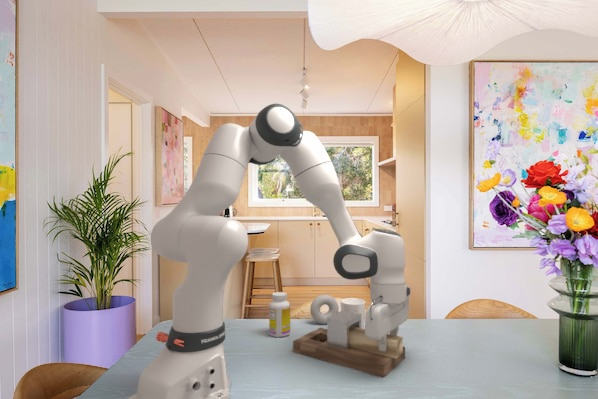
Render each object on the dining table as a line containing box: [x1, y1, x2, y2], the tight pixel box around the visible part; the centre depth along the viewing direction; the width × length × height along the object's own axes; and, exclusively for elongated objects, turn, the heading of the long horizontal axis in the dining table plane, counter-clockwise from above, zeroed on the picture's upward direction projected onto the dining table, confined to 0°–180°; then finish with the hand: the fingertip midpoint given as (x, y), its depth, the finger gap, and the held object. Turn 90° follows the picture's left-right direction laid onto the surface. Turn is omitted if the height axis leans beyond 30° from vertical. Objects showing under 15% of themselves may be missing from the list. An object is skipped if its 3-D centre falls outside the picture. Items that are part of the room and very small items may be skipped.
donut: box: [309, 294, 339, 325], centre depth 132 cm, size 10×4×10 cm, turn 102°
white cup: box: [340, 297, 366, 329], centre depth 123 cm, size 8×8×10 cm
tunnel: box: [326, 310, 361, 350], centre depth 106 cm, size 8×6×8 cm
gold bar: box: [349, 327, 404, 358], centre depth 101 cm, size 4×14×4 cm, turn 54°
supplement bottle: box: [268, 291, 291, 338], centre depth 122 cm, size 7×7×13 cm
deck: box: [292, 327, 406, 378], centre depth 105 cm, size 14×27×3 cm, turn 54°
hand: (388, 346), depth 99 cm, fingers closed on gold bar, 4 cm apart
